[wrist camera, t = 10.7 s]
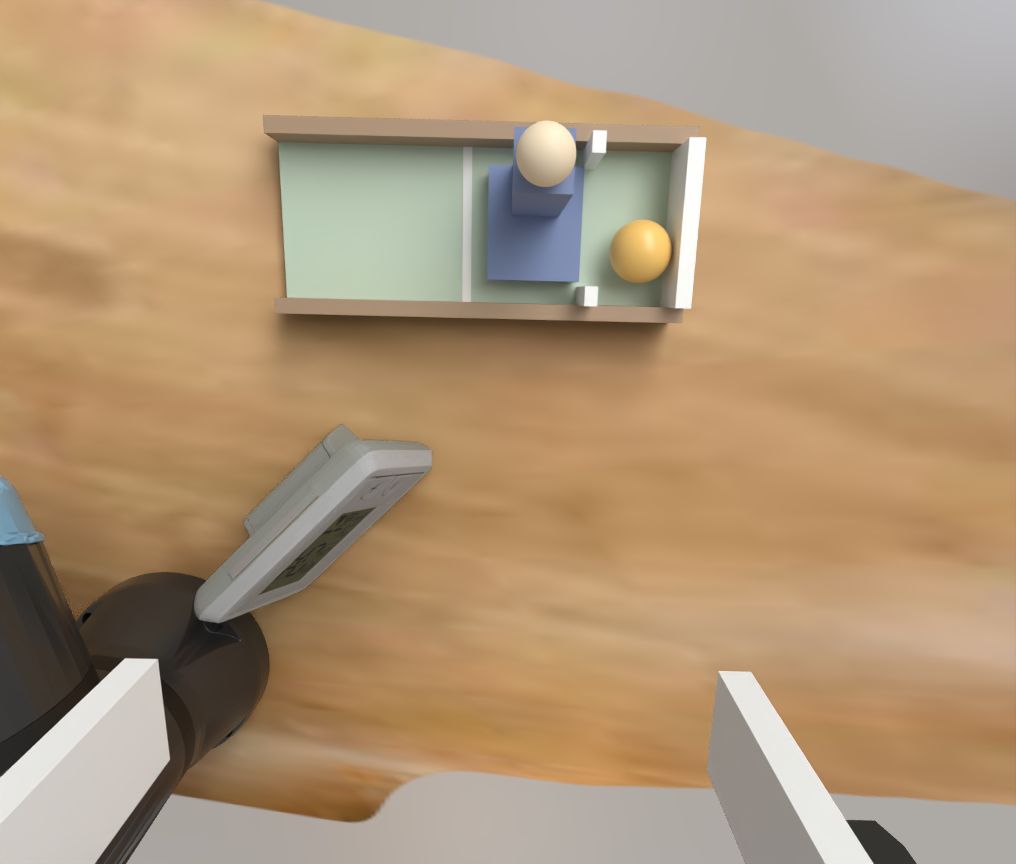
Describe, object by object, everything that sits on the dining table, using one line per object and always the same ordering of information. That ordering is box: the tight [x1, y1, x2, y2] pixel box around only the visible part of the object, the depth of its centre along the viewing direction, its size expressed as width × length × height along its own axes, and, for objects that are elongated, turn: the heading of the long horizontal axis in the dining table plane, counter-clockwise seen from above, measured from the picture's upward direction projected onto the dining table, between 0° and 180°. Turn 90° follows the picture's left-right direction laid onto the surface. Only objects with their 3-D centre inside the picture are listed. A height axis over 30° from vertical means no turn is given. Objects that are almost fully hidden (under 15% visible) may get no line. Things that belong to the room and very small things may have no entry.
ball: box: [609, 219, 672, 283], centre depth 39 cm, size 4×4×4 cm
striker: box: [487, 121, 585, 282], centre depth 34 cm, size 6×7×14 cm
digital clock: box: [194, 424, 432, 623], centre depth 41 cm, size 16×9×11 cm, turn 122°
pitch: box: [263, 115, 706, 323], centre depth 39 cm, size 27×12×6 cm, turn 89°
